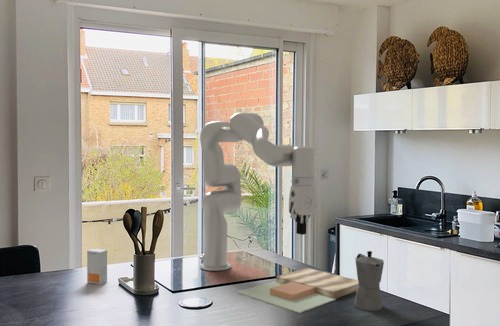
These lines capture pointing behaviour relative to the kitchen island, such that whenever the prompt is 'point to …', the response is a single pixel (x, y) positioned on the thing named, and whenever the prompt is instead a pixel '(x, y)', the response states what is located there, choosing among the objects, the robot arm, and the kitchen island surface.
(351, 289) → the board
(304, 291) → the terracotta tile
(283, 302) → the sage mat
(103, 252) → the skincare box
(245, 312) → the kitchen island surface
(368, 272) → the coffeepot
